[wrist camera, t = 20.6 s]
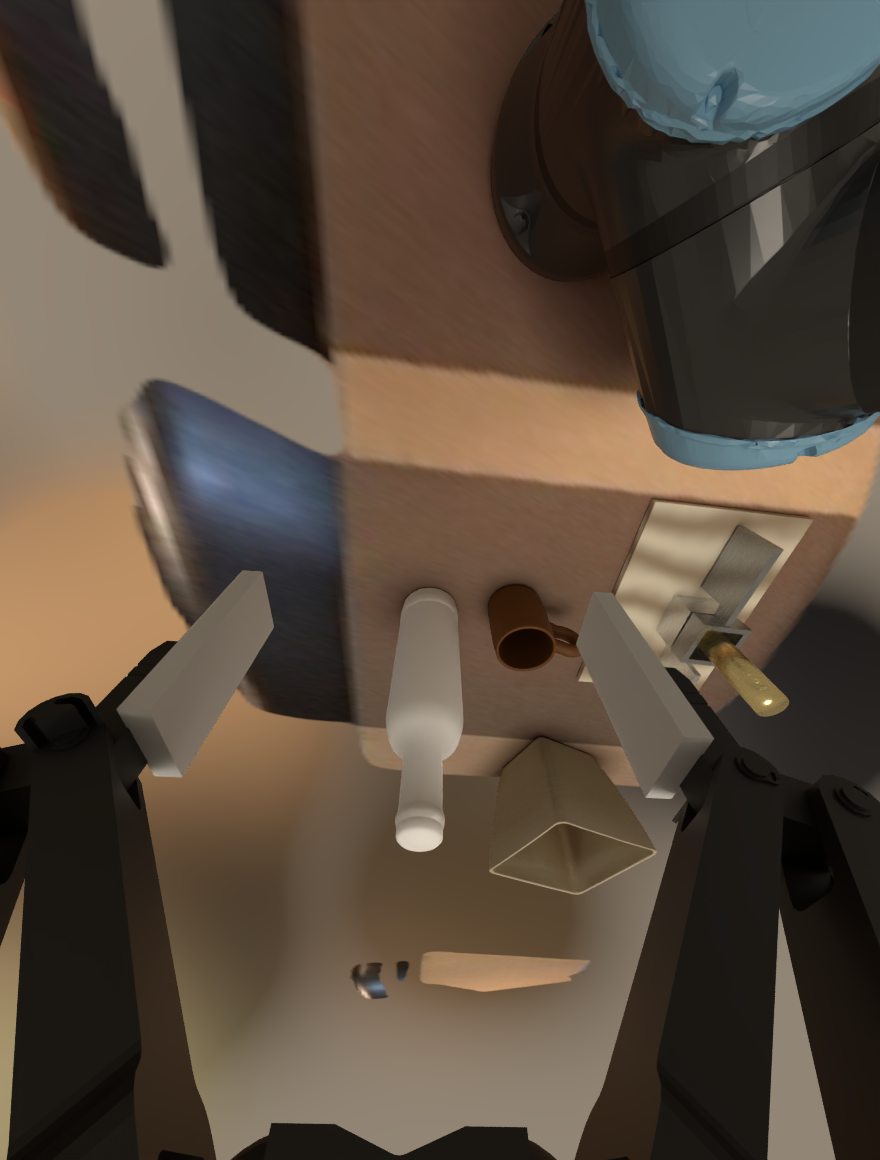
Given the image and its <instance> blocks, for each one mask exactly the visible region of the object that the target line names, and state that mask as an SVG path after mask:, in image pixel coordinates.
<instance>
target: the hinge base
mask: <svg viewBox="0 0 880 1160" xmlns="http://www.w3.org/2000/svg"><path fill="white" fill-rule="evenodd" d="M719 605H720V604H719V603H718V602H717V601H716V600H715V599H713V598H703V597H693V596H683V595H674V596H673V598H672V599H671V601H670V603H669V605H668V607H667V609H666V611H665V613H664V615H663V617H662V618H661V620H660V622H659V624H658V626H657V628H656V631H657V633H658V634H659V635H660V636H661V638H662V639H663V640H664V642H665V643H666V645H665V647H664V649H663V651H662V653H661V654H660V656H659V658H658V659H659V660H660V662H661V663H662V665H663V666H664V667H671V668H676V669H677V670H679V671H680V672H681V673H682V674H683V675H685V676H686V677H687V678H688V679H690V681H691V682H692V683H693V685H694V686H695V685H696V683H697V682H698V680H699V679H700V677H701V675H700V674H699V672H698V671H697V670H696V669H695V667H694V666H693V665H692V664H690V663H681V662H680V661H679V660H678V658H677V657H676V656H675V655H674V653H673V652H672V651H671V648H672V646H673V645H674V643H675V641H676V640H677V638H678V636H679V635H680V633H681V632H682V630H683V628H684V627H685V625H686V623H687V622H688V620H689V619H690V617H691V615H692V614H693V613H699V614H707V615H714V613H715V611H716V610H717V608H718V607H719ZM722 633H723V632H722ZM696 648H698V649H700V648H699V647H698V646H697V647H696Z"/></svg>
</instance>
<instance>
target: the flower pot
mask: <svg viewBox="0 0 880 1160" xmlns="http://www.w3.org/2000/svg"><path fill="white" fill-rule="evenodd" d="M656 853H657V851H656V849H655V848H654V846H653V844H652V843H651V840H650V839H649V837H648V835H647V833H646V832H645V830H644V829H643V827H642V825H641V824H640V822H639V821H638V819H637V817H636V816H635V815H634V813H633V811H632V810H631V808H630V807H629V805H628V803H627V802H626V801H625V799H624V798H623V796H622V795H621V793H619V791H618V789H617V788H616V787H615V785H614V784H613V782H612V781H611V780H610V778H609V777H608V776H607V775H606V773H605V772H604V771H603V770H602V768H601V767H600V766H599V765H598V764H597V762H596V761H595V760H594V759H593V758H592V757H591V756H590V755H588V754H586V753H583V752H581V751H578V750H575V749H573V748H570V747H568V746H565V745H562V744H560V743H557V742H555V741H552V740H549V739H547V738H544V737H539V738H537V739H536V740H535V741H534V742H532V743H531V744H530V745H529V746H528V747H527V748H526V749H525V750H523V751H522V752H521V753H520V754H519V755H518V756H517V757H516V758H514V759H513V760H512V761H511V762H510V763H509V764H508V765H507V766H505V767H504V768H503V770H502V774H501V778H500V783H499V787H498V792H497V797H496V802H495V809H494V815H493V823H492V833H491V844H490V864H489V870H490V872H491V873H493V874H497V875H501V876H504V877H508V878H512V879H516V880H520V881H523V882H527V883H531V884H535V885H539V886H543V887H547V888H550V889H554V890H558V891H563V892H566V893H570V894H582V893H584V892H586V891H588V890H589V889H591V888H593V887H595V886H597V885H599V884H601V883H603V882H605V881H607V880H609V879H610V878H612V877H615V876H616V875H618V874H620V873H622V872H624V871H626V870H627V869H629V868H631V867H633V866H635V865H637V864H639V863H641V862H642V861H644V860H646V859H648V858H650V857H652V856H654V855H655V854H656Z"/></svg>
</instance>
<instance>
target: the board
mask: <svg viewBox="0 0 880 1160" xmlns="http://www.w3.org/2000/svg"><path fill="white" fill-rule="evenodd" d="M812 522H813V519H811V518H809V517H806V516H797V515H788V514H780V513H771V512H762V511H754V510H745V509H736V508H727V507H719V506H710V505H701V504H693V503H684V502H675V501H667V500H658V499H651V502H650V504H649V506H648V509H647V511H646V514H645V516H644V518H643V521H642V523H641V525H640V528H639V530H638V533H637V535H636V537H635V540H634V542H633V544H632V547H631V549H630V551H629V554H628V556H627V559H626V561H625V563H624V566H623V568H622V570H621V573H620V575H619V578H618V580H617V582H616V585H615V587H614V589H613V592H612V593H613V595H614V596H615V597H616V599H617V600H618V602H619V603H620V605H621V606H622V608H623V609H624V610H625V612H626V613H627V615H628V616H629V618H630V619H631V620H632V622H633V623H634V625H635V626H636V628H637V629H638V630H639V632H640V633H641V635H642V636H643V638H644V639H645V640H646V642H647V643H648V645H649V646H650V648H651V649H652V650H653V652H654V653H655V655H656V656H657V658H659V656H660V654H661V653H662V651H663V649H664V647H665V645H666V643H665V642H664V640H663V639H662V638H661V636H660V635H659V634H658V633H657V631H656V628H657V626H658V624H659V622H660V620H661V618H662V617H663V615H664V613H665V611H666V609H667V607H668V605H669V603H670V601H671V599H672V598H673V596H674V595H683V596H693V597H703V598H712V597H711V596H710V595H709V594H708V593H707V592H706V591H705V590H704V589H702V588H701V587H702V585H703V584H704V582H705V580H706V579H707V577H708V575H709V574H710V572H711V570H712V569H713V567H714V565H715V564H716V562H717V560H718V559H719V557H720V555H721V554H722V552H723V550H724V549H725V547H726V545H727V544H728V542H729V540H730V539H731V537H732V536H733V534H734V532H735V531H736V529H737V527H738V526H744V527H746V528H748V529H749V530H751V531H753V532H755V533H756V534H758V535H760V536H762V537H763V538H765V539H767V540H768V541H770V542H772V543H774V544H775V545H777V546H779V547H781V548H782V549H784V550H783V552H782V553H781V555H780V556H779V558H778V559H777V560H776V562H775V563H774V565H773V566H772V568H771V569H770V570H769V572H768V573H767V575H766V576H765V578H764V579H763V581H762V582H761V583H760V585H759V586H758V588H757V589H756V591H755V592H754V593H753V595H752V596H751V598H750V599H749V601H748V602H747V603H746V605H745V606H744V608H743V609H742V611H741V612H740V613H739V615H738V616H737V618H738V619H740V620H741V621H742V622H743V623H745V621H746V620H747V618H748V617H749V615H750V614H751V612H752V611H753V609H754V608H755V606H756V605H757V603H758V602H759V600H760V599H761V597H762V596H763V594H764V593H765V591H766V590H767V588H768V587H769V586H770V584H771V583H772V581H773V580H774V578H775V577H776V575H777V574H778V572H779V571H780V569H781V568H782V566H783V565H784V563H785V562H786V560H787V559H788V557H789V556H790V554H791V553H792V551H793V550H794V548H795V547H796V545H797V544H798V543H799V541H800V540H801V538H802V537H803V535H804V534H805V532H806V531H807V529H808V528H809V526H810V525H811V523H812ZM692 665H693V666H694V667H695V669H696V670H697V671H698V672H699V674H700V675H701V677H700V679H699V680H698V682H697V683H696V685H695V687H696V689H697V690H698V691H699V689H700V688H701V686H702V685H703V683H704V682H705V680H706V679H707V677H708V676H709V674H710V673H711V671H712V670H713V668H714V667H715V666H707V665H698V664H692ZM577 678H578V680H579V681H585V682H593V681H592V679H591V676H590V674H589V672H588V670H587V667H586V665H585V663H584V661H583V663H582V665H581V668H580V670H579V672H578V675H577Z"/></svg>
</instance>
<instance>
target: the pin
mask: <svg viewBox="0 0 880 1160" xmlns="http://www.w3.org/2000/svg"><path fill="white" fill-rule="evenodd" d="M697 646H698V647H699V648H700V649H701V650H702V652H703V653H704V654H705V655H706V656H707V657H708V658H709V660H710V661H711V662H712V663H713V664H714V665H715V666H716V668H717V669H718V670H719V671H720V672H721V673H722V674H723V675H724V677H725V678H726V679H727V680H728V681H729V682H730V683H731V685H732V686H733V687H734V688H735V689H736V690H737V691H738V693H739V694H740V695H741V696H742V697H743V698H744V699H745V701H746V702H747V703H748V704H749V705H750V706H751V707H752V709H754V711H755V712H756V713H757V714H758V715H760V716H772V715H775V714H777V713H780V712H781V711H783V710H784V709H785V708H786V707H787V706H788V704H789V700H788V698H787V697H786V696H785V695H784V694H783V693H782V692H781V691H780V690H779V689H778V688H777V687H776V686H775V685H774V684H773V683H772V682H771V681H770V680H769V679H768V678H767V677H766V676H765V675H764V674H763V673H762V672H761V671H760V670H759V669H758V668H757V667H756V666H755V665H754V664H753V663H752V662H751V661H750V660H749V659H748V658H747V657H746V656H745V655H744V654H743V653H742V652H741V651H740V650H739V649H738V648H737V647H736V646H735V645H734V644H733V643H732V642H731V641H730V640H729V639H728V638H727V637H726V636H725V635H724V634H723V633H722V632H718V631H710V630H707V631H706V633H705V634H704V636H703V637H702V639H701V641H700V642H699V644H698V645H697Z"/></svg>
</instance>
